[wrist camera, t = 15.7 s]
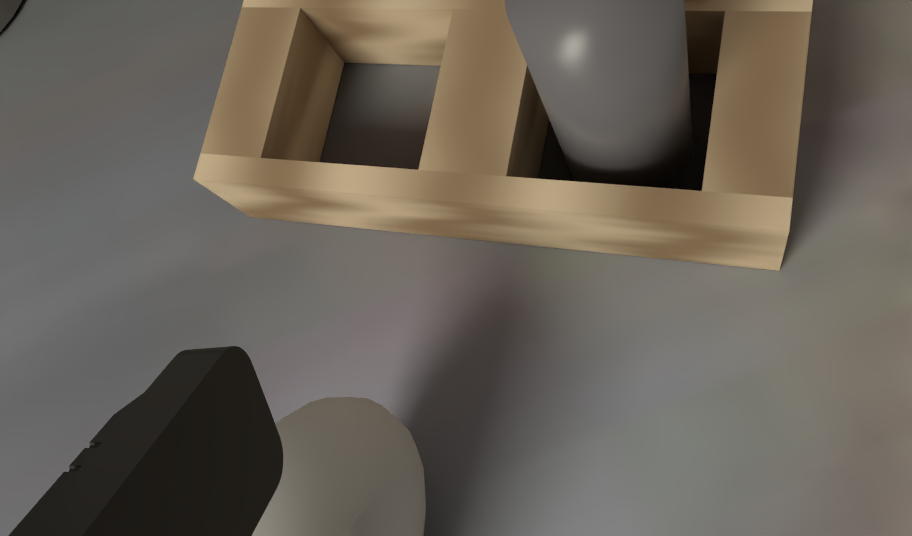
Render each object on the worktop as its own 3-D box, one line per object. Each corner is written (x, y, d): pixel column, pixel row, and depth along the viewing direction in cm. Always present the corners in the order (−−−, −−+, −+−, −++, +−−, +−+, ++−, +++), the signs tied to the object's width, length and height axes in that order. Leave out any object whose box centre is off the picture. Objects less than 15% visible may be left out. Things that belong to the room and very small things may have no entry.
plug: (543, 160, 31) (469, 5, 22) (623, 72, 31) (584, -119, 22) (635, 231, 29) (598, 96, 20) (720, 137, 29) (721, -41, 20)
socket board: (250, 216, 34) (188, 175, 30) (307, -2, 36) (257, -67, 32) (779, 270, 27) (790, 227, 23) (807, 0, 30) (821, -81, 26)
